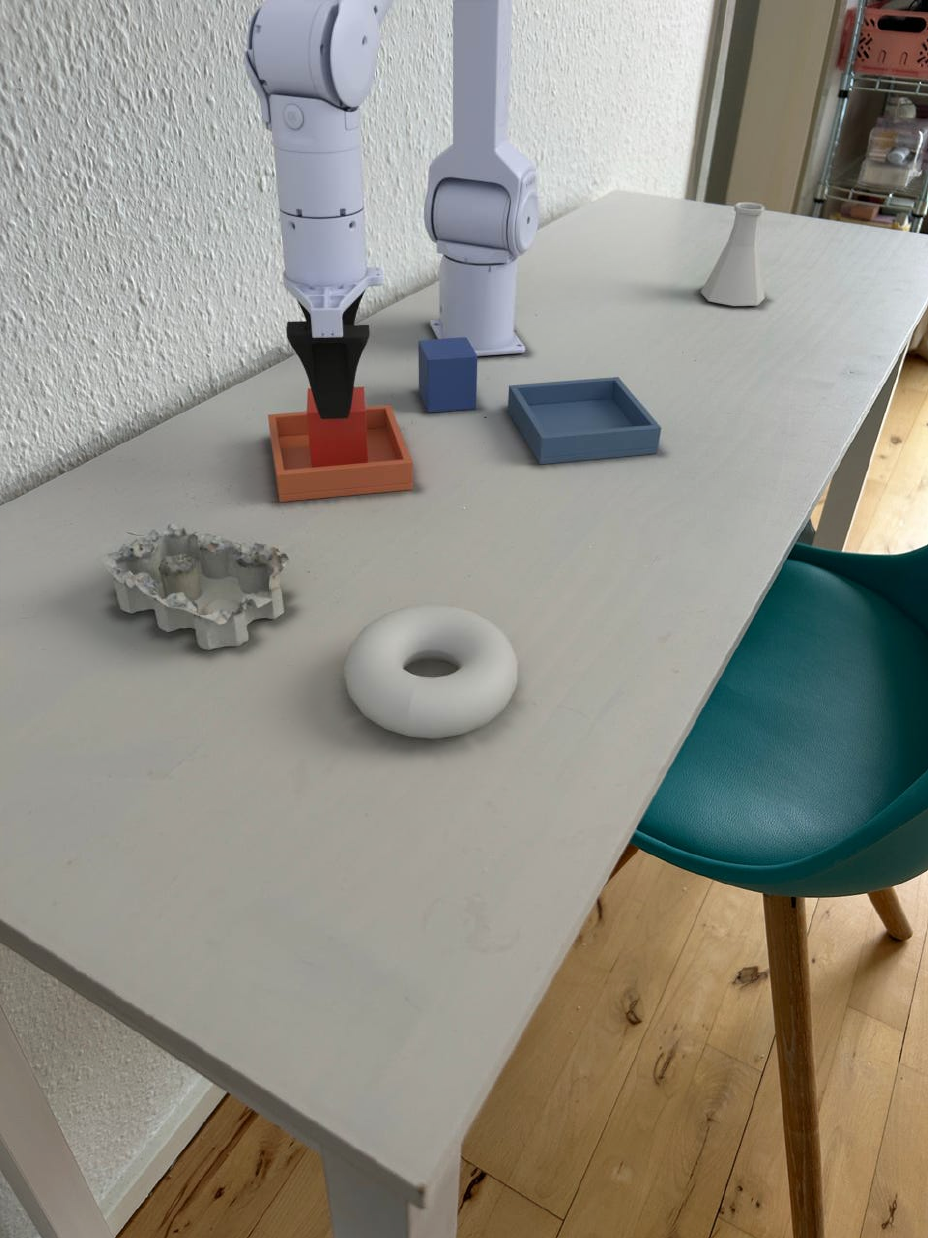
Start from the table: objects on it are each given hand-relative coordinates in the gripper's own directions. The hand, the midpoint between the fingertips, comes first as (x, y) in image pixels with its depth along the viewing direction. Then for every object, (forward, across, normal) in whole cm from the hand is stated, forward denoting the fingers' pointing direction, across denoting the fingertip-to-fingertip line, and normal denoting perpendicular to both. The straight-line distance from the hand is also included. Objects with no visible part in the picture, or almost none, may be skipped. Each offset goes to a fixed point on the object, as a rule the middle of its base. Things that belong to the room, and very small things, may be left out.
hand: (334, 394), depth 73 cm
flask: (+6, +36, -45) cm, 58 cm away
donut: (+6, -28, -5) cm, 29 cm away
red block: (+5, 0, 0) cm, 5 cm away
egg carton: (+6, -18, +9) cm, 21 cm away
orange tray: (+6, 0, 0) cm, 6 cm away
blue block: (+6, +11, -10) cm, 16 cm away
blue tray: (+6, +4, -21) cm, 22 cm away
